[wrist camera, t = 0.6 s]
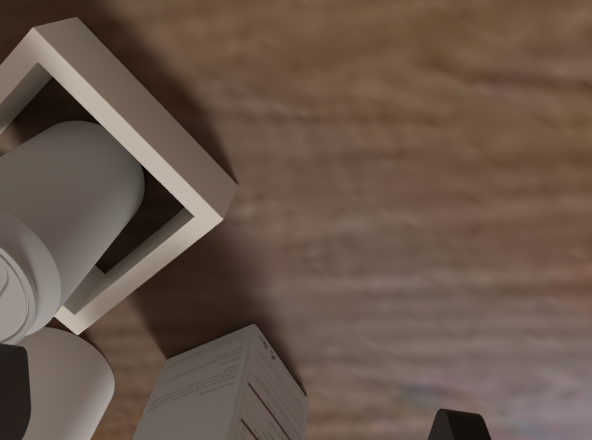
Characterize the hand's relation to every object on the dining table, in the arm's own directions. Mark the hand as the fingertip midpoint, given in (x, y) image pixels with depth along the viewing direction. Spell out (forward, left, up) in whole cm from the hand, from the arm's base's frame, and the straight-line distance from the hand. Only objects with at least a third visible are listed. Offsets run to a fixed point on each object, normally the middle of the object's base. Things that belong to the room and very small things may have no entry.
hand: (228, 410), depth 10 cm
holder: (+11, -5, -20) cm, 23 cm away
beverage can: (+11, -5, -20) cm, 23 cm away
